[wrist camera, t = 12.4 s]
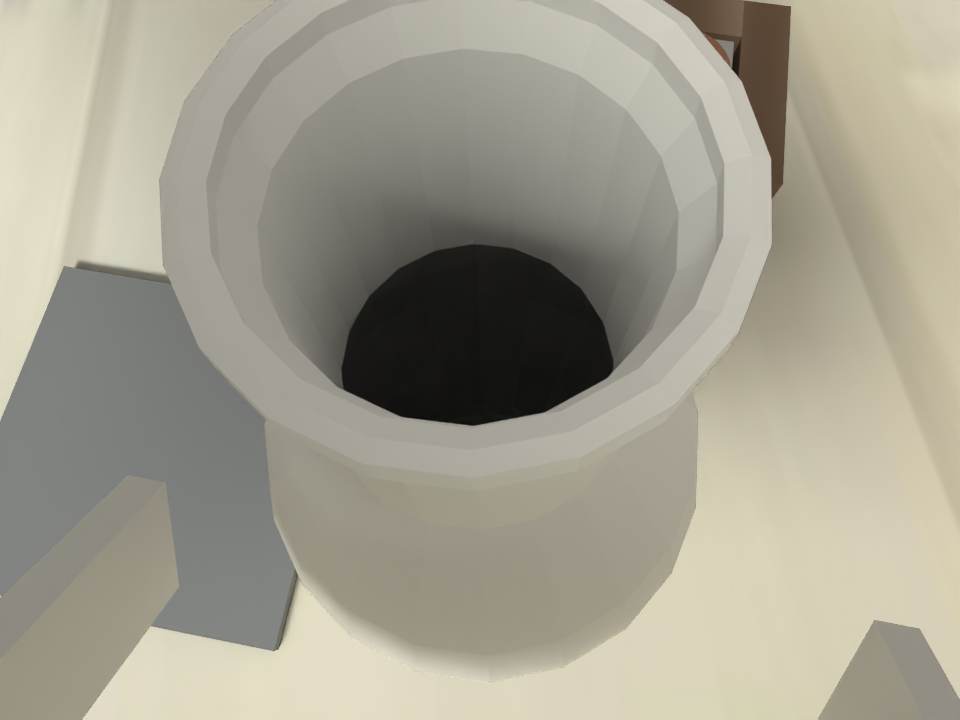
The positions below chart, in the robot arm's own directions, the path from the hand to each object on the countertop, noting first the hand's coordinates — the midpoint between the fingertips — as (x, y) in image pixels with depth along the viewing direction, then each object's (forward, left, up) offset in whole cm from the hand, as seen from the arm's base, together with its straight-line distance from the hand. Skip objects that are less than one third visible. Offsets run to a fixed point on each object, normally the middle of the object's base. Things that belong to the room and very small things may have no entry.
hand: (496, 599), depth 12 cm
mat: (-16, +3, -16) cm, 23 cm away
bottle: (-1, +3, -17) cm, 17 cm away
